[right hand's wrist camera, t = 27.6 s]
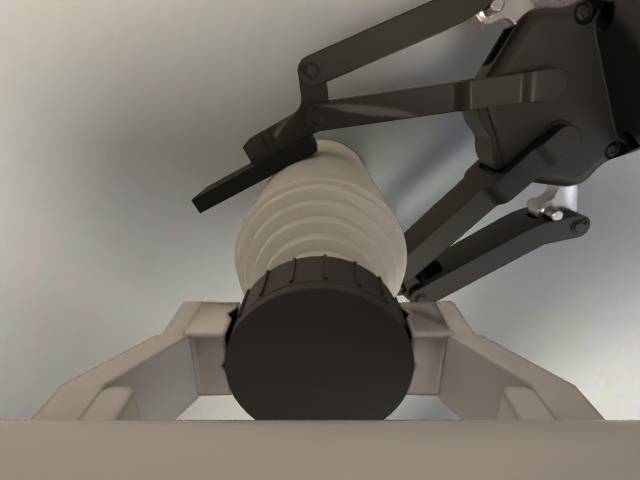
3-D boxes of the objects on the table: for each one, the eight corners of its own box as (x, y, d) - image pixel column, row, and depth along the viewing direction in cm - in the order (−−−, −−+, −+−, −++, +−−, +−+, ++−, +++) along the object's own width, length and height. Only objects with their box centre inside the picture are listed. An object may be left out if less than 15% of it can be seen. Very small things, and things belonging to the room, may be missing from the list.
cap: (222, 263, 9) (201, 297, 8) (399, 244, 9) (416, 276, 7) (253, 396, 11) (241, 448, 9) (403, 383, 11) (418, 433, 9)
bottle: (267, 145, 24) (157, 241, 8) (365, 133, 24) (453, 209, 8) (282, 236, 27) (220, 450, 11) (371, 227, 26) (448, 432, 10)
